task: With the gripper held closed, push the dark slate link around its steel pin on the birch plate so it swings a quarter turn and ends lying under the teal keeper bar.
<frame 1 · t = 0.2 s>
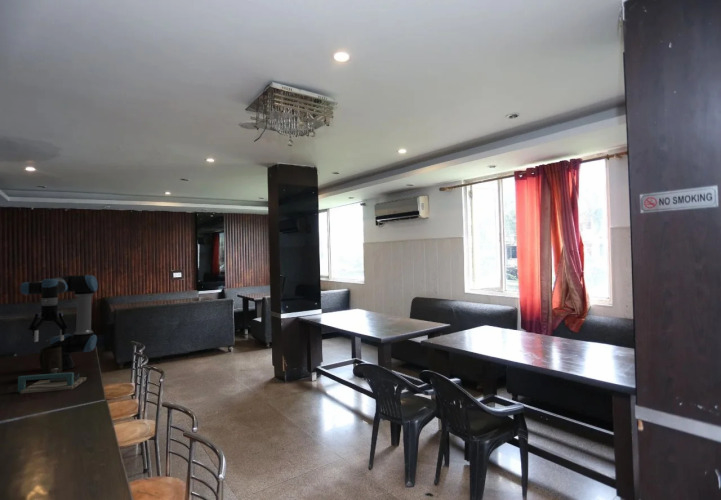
hand: (49, 341, 232), 27 cm above the table, tool pointing down, fingers open, 13 cm apart
beer stein: (48, 378, 251), on the table
swing link: (64, 377, 238), point 4 cm above the table, hinge at 90.0°
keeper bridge: (46, 389, 227), resting on pivot plate
pivot plate: (55, 386, 234), on the table
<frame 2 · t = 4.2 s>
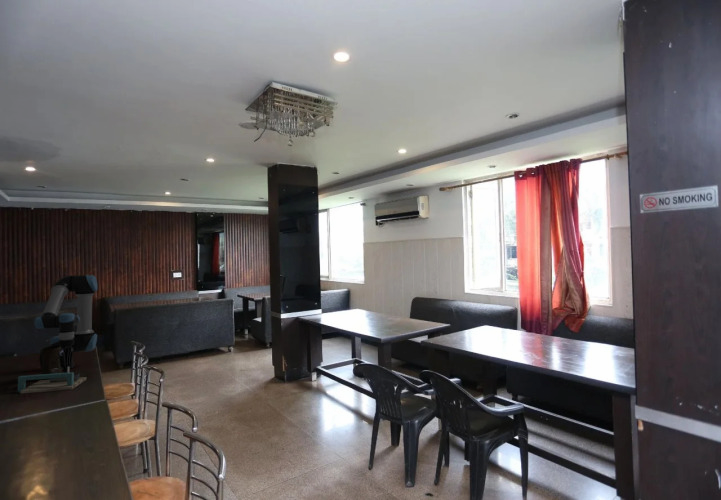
hand: (66, 377, 240), 3 cm above the table, tool pointing down, fingers closed
swing link: (64, 377, 238), point 4 cm above the table, hinge at 89.6°, touching gripper
everything else where it was.
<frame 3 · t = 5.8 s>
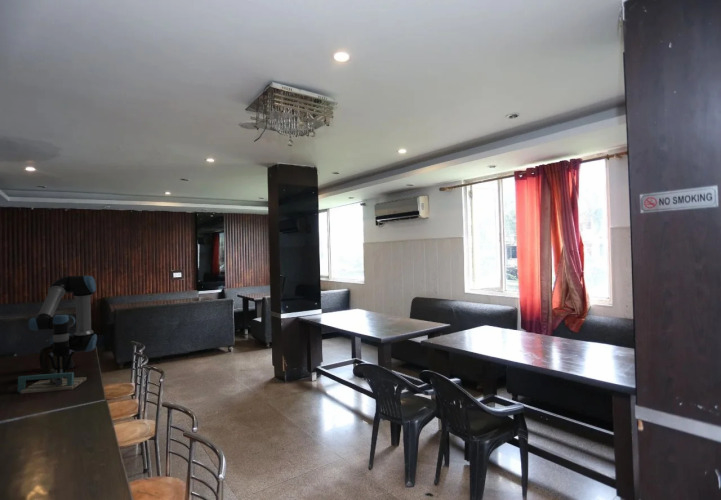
hand: (61, 380, 235), 3 cm above the table, tool pointing down, fingers closed
swing link: (56, 380, 233), point 4 cm above the table, hinge at 32.1°, touching gripper
everything else where it was.
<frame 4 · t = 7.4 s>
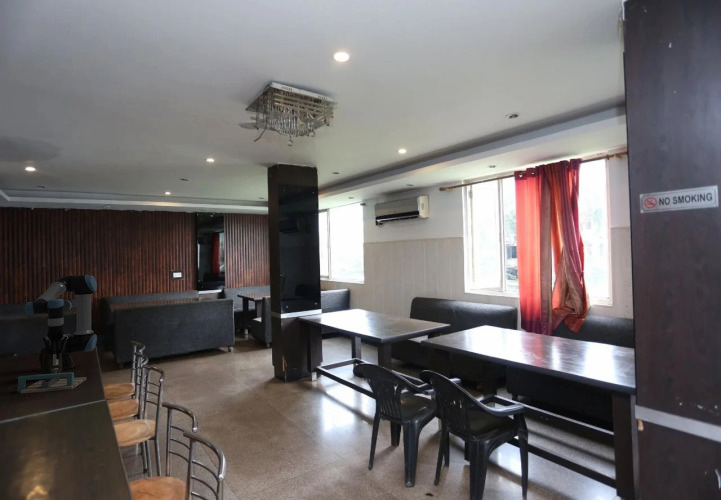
hand: (55, 364, 233), 13 cm above the table, tool pointing down, fingers closed
swing link: (50, 381, 232), point 4 cm above the table, hinge at 1.9°
everything else where it was.
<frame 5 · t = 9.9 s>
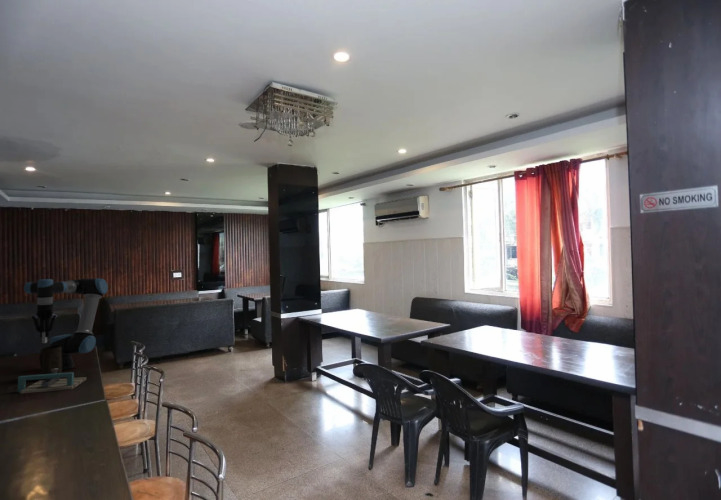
hand: (44, 342, 241), 24 cm above the table, tool pointing down, fingers closed
nothing on the table moved.
at the end: swing link at +2° (first picture: +90°) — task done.
